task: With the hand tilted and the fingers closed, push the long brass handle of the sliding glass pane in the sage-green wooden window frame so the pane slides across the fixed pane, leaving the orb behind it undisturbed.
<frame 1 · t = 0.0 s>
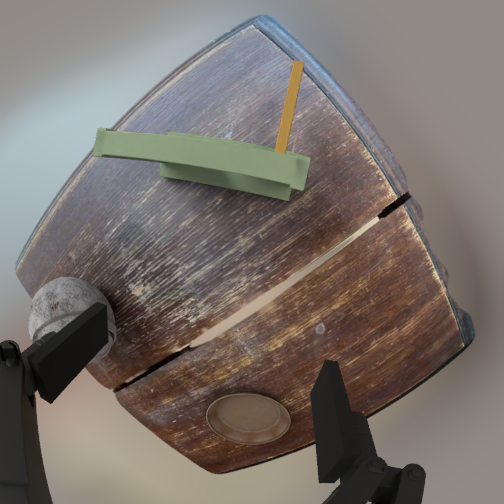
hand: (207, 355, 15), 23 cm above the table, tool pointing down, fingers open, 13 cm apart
window frame: (227, 163, 34), on the table
saucer: (249, 411, 45), on the table
window pane: (263, 112, 25), point 8 cm above the table, slide at 0.0 cm
decorative orb: (95, 305, 42), on the table
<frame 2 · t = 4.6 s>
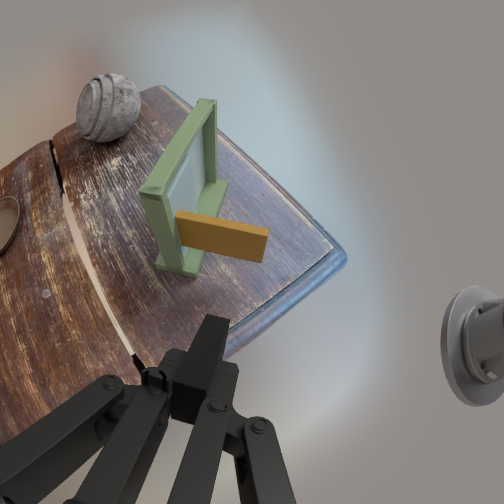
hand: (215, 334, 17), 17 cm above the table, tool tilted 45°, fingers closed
window frame: (194, 223, 42), on the table
saucer: (0, 234, 38), on the table
window pane: (224, 219, 32), point 8 cm above the table, slide at 0.0 cm
decorative orb: (114, 134, 52), on the table
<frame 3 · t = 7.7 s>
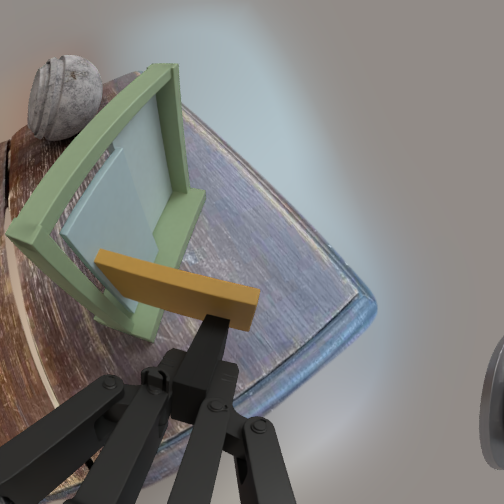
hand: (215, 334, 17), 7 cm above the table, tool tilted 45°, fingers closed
window frame: (154, 255, 27), on the table
window pane: (185, 260, 19), point 8 cm above the table, slide at 0.4 cm
decorative orb: (73, 130, 38), on the table
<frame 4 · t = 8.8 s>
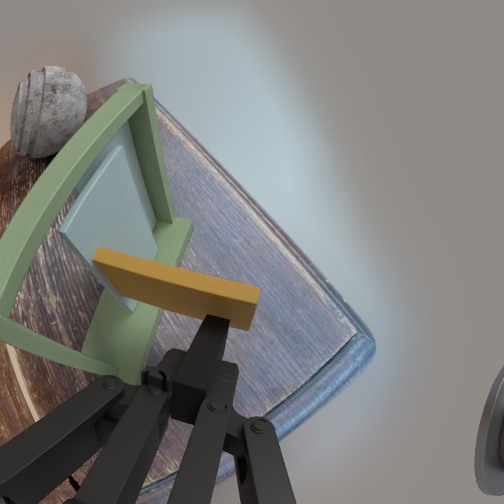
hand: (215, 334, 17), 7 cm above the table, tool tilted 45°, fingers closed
window frame: (138, 293, 25), on the table
window pane: (184, 258, 18), point 8 cm above the table, slide at 4.8 cm, touching gripper
decorative orb: (59, 145, 36), on the table
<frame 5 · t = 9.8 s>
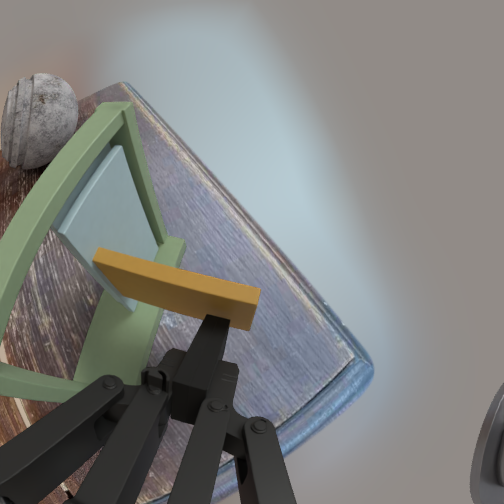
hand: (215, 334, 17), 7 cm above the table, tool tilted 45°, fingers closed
window frame: (130, 316, 24), on the table
window pane: (184, 258, 18), point 8 cm above the table, slide at 7.3 cm, touching gripper
decorative orb: (51, 155, 34), on the table
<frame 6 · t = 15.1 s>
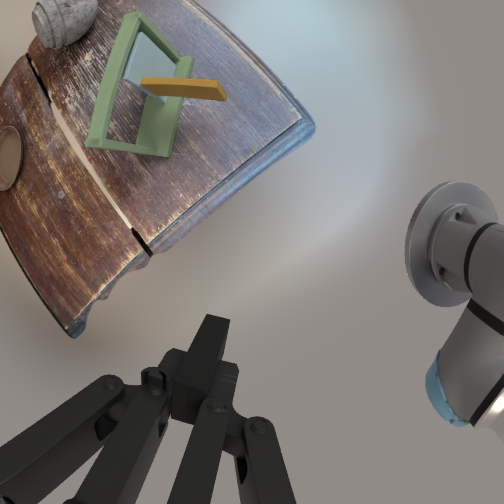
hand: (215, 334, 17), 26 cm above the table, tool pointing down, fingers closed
window frame: (165, 104, 38), on the table
saucer: (12, 157, 42), on the table
window pane: (187, 71, 29), point 8 cm above the table, slide at 7.0 cm
decorative orb: (83, 27, 34), on the table
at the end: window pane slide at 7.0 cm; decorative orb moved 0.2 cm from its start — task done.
